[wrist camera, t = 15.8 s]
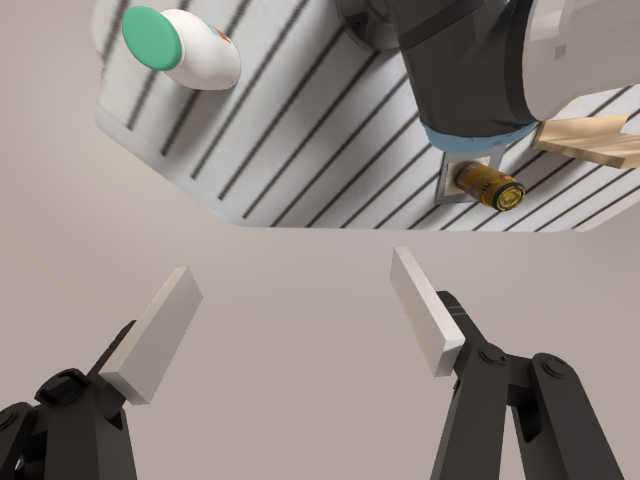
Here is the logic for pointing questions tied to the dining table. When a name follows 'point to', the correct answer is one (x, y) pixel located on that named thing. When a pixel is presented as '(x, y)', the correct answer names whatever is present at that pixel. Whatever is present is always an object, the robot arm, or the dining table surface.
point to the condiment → (484, 184)
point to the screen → (591, 140)
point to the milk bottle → (182, 47)
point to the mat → (494, 160)
